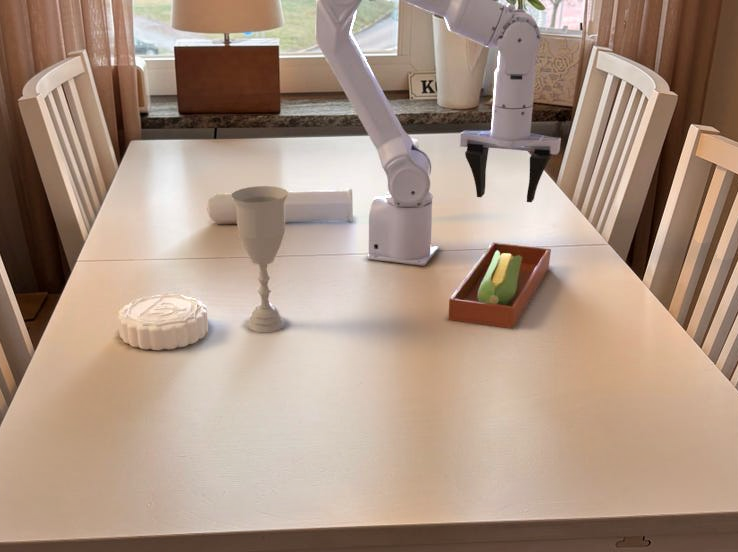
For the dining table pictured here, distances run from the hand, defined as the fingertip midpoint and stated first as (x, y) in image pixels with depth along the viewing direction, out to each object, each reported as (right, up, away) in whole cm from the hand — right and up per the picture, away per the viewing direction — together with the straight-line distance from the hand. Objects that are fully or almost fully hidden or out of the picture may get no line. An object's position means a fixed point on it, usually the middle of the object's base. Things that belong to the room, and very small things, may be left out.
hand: (505, 197), depth 157 cm
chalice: (-36, -22, -15) cm, 44 cm away
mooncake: (-49, -23, -16) cm, 57 cm away
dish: (-2, -16, -7) cm, 17 cm away
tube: (-35, +2, +22) cm, 41 cm away
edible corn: (-2, -16, -7) cm, 18 cm away
